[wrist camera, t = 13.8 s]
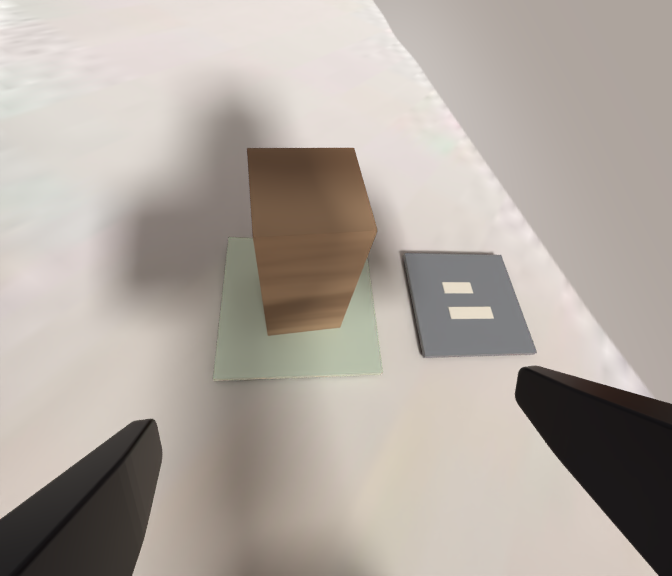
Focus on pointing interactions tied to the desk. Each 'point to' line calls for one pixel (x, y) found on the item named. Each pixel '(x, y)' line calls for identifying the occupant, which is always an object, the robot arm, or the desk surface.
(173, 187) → the desk surface
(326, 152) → the walnut block
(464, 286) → the slate tile
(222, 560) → the desk surface
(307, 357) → the sage plate
